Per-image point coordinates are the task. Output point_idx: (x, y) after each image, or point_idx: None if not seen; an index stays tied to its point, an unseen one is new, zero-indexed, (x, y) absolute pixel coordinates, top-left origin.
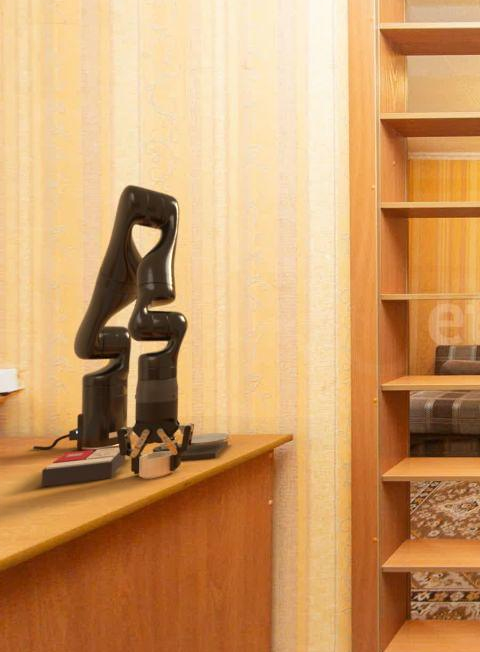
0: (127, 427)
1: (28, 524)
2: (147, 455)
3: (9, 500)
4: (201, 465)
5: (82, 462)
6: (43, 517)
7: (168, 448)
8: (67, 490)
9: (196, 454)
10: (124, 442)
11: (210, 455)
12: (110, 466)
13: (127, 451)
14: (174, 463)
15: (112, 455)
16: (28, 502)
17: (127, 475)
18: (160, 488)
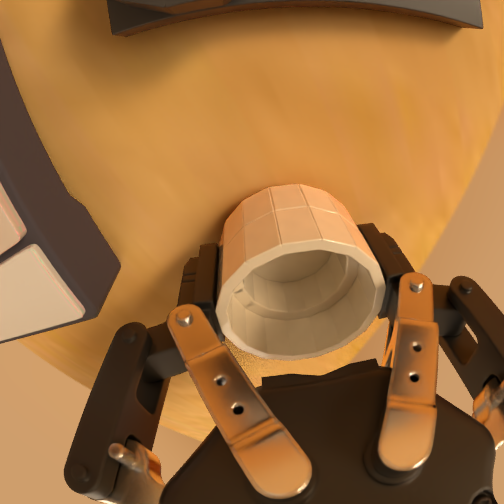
0: (92, 491)
1: (195, 430)
2: (234, 285)
3: (41, 357)
4: (438, 128)
5: (16, 321)
6: (194, 421)
7: (383, 356)
8: (90, 334)
9: (403, 8)
10: (151, 431)
11: (457, 22)
12: (103, 301)
13: (166, 374)
14: None
15: (18, 241)
16: (89, 375)
17: (153, 227)
18: (351, 346)
